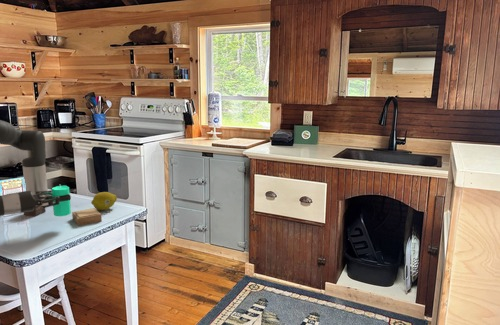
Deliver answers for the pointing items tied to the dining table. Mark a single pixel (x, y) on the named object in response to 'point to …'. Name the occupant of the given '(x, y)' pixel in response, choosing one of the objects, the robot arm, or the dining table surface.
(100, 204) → the lemon
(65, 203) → the candle
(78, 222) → the stand
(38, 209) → the box
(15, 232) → the dining table surface
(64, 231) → the dining table surface
